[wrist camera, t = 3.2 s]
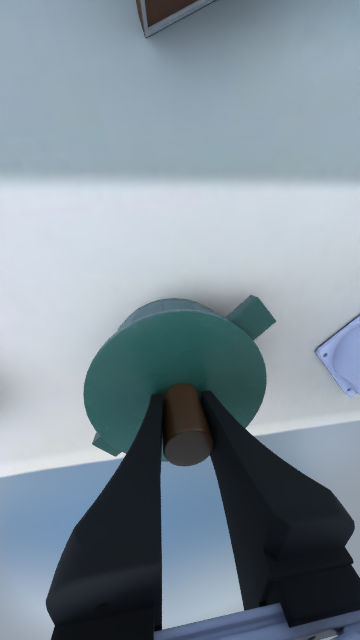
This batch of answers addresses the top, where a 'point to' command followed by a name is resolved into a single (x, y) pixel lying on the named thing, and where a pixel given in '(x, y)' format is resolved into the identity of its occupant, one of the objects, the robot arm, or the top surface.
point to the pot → (245, 316)
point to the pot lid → (174, 380)
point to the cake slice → (165, 12)
